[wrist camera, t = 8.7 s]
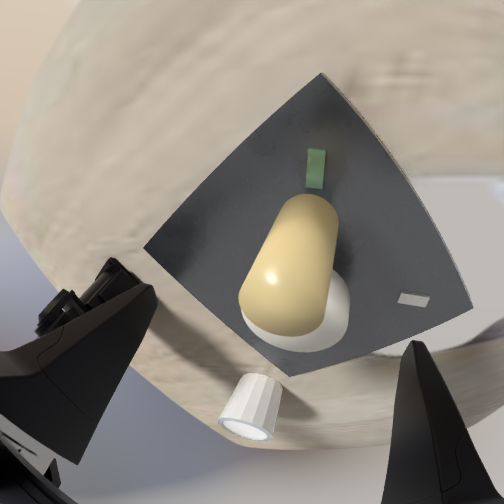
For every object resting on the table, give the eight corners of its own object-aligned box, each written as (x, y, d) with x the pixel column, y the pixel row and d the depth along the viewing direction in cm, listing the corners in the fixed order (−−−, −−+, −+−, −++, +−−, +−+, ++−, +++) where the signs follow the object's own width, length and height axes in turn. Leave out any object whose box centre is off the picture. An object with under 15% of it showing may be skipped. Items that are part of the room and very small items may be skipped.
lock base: (292, 366, 31) (285, 389, 29) (152, 238, 26) (132, 259, 24) (469, 295, 19) (477, 323, 17) (323, 72, 14) (317, 73, 12)
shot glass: (242, 363, 34) (221, 412, 28) (295, 383, 33) (280, 434, 28) (232, 384, 38) (213, 427, 33) (277, 402, 38) (263, 445, 32)
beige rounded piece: (337, 339, 21) (319, 432, 15) (249, 319, 23) (212, 404, 17) (381, 193, 14) (395, 297, 8) (252, 171, 16) (181, 252, 10)
